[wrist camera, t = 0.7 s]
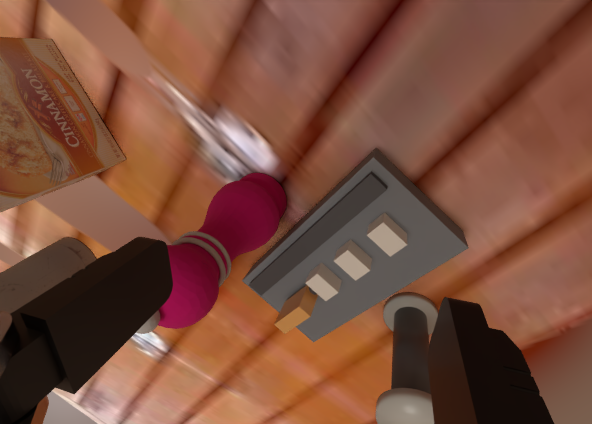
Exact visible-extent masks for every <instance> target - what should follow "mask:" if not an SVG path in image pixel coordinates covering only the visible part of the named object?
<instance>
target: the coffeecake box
mask: <svg viewBox="0 0 592 424" xmlns="http://www.w3.org/2000/svg"><path fill="white" fill-rule="evenodd" d="M124 160H126V158H125V156H124V155H123V153H122V151H121V150H120V148H119V147H118V145H117V143H116V142H115V140H114V139H113V137H112V135H111V134H110V132H109V131H108V129H107V127H106V126H105V124H104V123H103V121H102V119H101V118H100V116H99V115H98V113H97V111H96V110H95V108H94V107H93V105H92V103H91V102H90V100H89V99H88V97H87V95H86V94H85V92H84V91H83V89H82V87H81V86H80V84H79V83H78V81H77V79H76V78H75V76H74V74H73V73H72V71H71V70H70V68H69V66H68V65H67V63H66V61H65V60H64V58H63V57H62V55H61V53H60V52H59V50H58V49H57V47H56V45H55V44H54V42H53V40H52V39H35V38H8V37H0V212H3V211H5V210H8V209H10V208H13V207H15V206H18V205H20V204H23V203H25V202H28V201H30V200H33V199H35V198H38V197H40V196H43V195H45V194H48V193H50V192H53V191H56V190H58V189H61V188H63V187H66V186H68V185H71V184H74V183H76V182H79V181H81V180H84V179H86V178H89V177H91V176H93V175H96V174H98V173H100V172H102V171H104V170H106V169H108V168H110V167H112V166H114V165H116V164H118V163H120V162H122V161H124Z"/></svg>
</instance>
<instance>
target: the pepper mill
mask: <svg viewBox="0 0 592 424" xmlns="http://www.w3.org/2000/svg"><path fill="white" fill-rule="evenodd" d="M286 205H287V201H286V195H285V192H284V190H283V188H282V187H281V185H280V184H279V183H278V182H277V181H276V180H275V179H273V178H272V177H270V176H268V175H266V174H262V173H251V174H248V175H246V176H244V177H243V178H242V179H240V180H239V181H234V182H231V183H229V184H227V185H225V186H224V187H223V188H221V189H220V190H219V191H218V192H217V193H216V195H215V196H214V197H213V199H212V201H211V203H210V205H209V207H208V211H207V215H206V219H205V222H204V224H203V226H202V227H201V228H200V229H199V230H198V231H193V232H188V233H185V234H183V235H182V236H181V237H180V238H179V239H178V240H176V241H175V242H174V243H173V244H172V245H167V247H168V253H169V259H170V266H171V272H172V279H173V289H172V292H171V295H170V297H169V299H168V300H167V301H166V303H165V304H164V305H163V306H162V307H161V308H160V309H159V310H158V311H157V312H156V313H155V314H154V315H153V316H152V317H151V318H150V319H149V320H148V321H147V322H146V323H145V324H144V325H143V326H142V327H141V328H140V329H139V330H138V331H137V333H140V334H145V333H149V332H151V331H152V330H154V329H155V328H156V327H157V325H159V326H162V327H166V328H174V329H177V328H184V327H187V326H190V325H193V324H195V323H196V322H198V321H199V320H201V319H202V318H203V317H204V316H206V315H207V313H208V312H209V311H210V310H211V309H212V307H213V306H214V304H215V302H216V300H217V297H218V292H219V287H220V286H221V285H222V284H223V282H224V280H225V279H226V278H227V277H228V276H229V274H230V271H231V262H232V261H233V260H234V259H235V257H236V256H238V255H240V254H243V253H246V252H249V251H252V250H255V249H257V248H259V247H260V246H262V245H264V244H266V243H267V242H268V241H269V240H270V239H271V237H272V236H273V235H274V234H275V232H276V231H277V228H278V225H279V219H280V218H281V217H282V215H283V214H284V212H285V209H286Z"/></svg>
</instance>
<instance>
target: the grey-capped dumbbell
mask: <svg viewBox="0 0 592 424" xmlns="http://www.w3.org/2000/svg"><path fill="white" fill-rule="evenodd" d="M383 317H384V321H385V323H386V325H387V326H388V327H389V328H390V329H391V330H392V331H393V357H392V385H391V390H388V391H386V392H384V393H382V394H381V395H380V396H379V398H378V400H377V404H376V420H377V423H378V424H434V416H433V407H432V398H431V390H430V381H429V372H428V351H429V335H430V334H431V333H433V330H434V327H435V324H436V320H437V317H438V311H437V308H436V306H435V305H434V303H433V302H432V301H431V300H429V299H428V298H426V297H425V296H423V295H420V294H417V293H411V292H404V293H399V294H396V295H393V296H392V297H390V298H389V299H388V300H387V301H386V303H385V305H384V313H383Z"/></svg>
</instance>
